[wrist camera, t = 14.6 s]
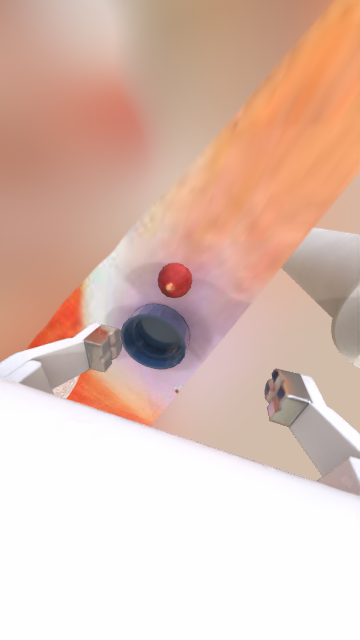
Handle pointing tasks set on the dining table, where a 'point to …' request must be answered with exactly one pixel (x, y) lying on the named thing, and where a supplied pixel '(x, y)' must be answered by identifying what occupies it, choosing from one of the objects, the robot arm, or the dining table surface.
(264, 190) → the dining table surface
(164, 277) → the onion
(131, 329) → the bowl
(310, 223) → the dining table surface
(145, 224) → the dining table surface
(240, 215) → the dining table surface
